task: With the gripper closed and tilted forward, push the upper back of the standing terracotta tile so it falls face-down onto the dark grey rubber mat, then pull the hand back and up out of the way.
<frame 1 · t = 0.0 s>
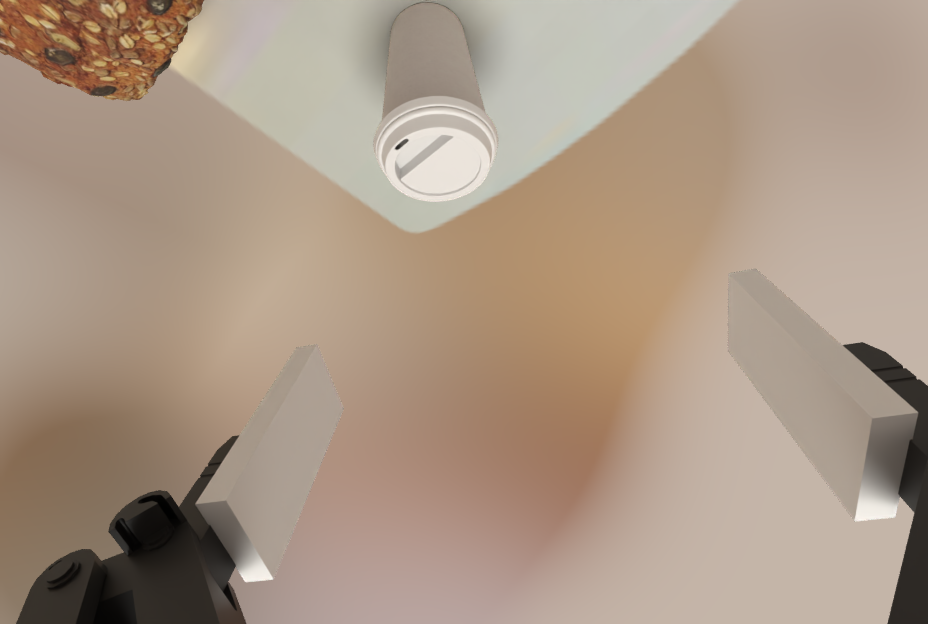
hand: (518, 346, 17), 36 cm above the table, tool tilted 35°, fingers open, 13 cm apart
coffee cup: (427, 37, 46), on the table
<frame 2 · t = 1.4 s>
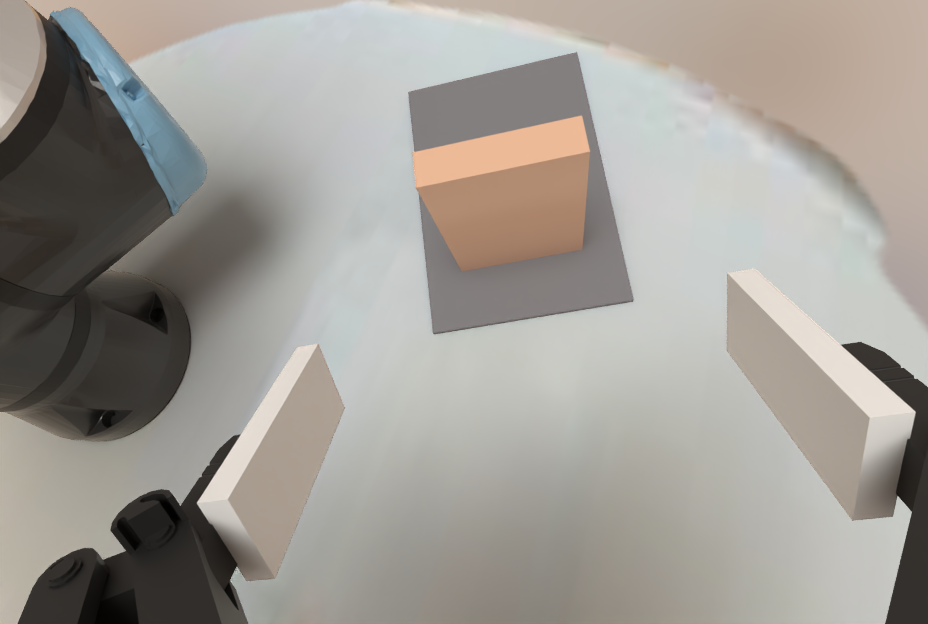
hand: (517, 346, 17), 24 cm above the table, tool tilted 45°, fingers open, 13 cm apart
tile: (518, 247, 43), resting on mat
mat: (509, 187, 45), on the table
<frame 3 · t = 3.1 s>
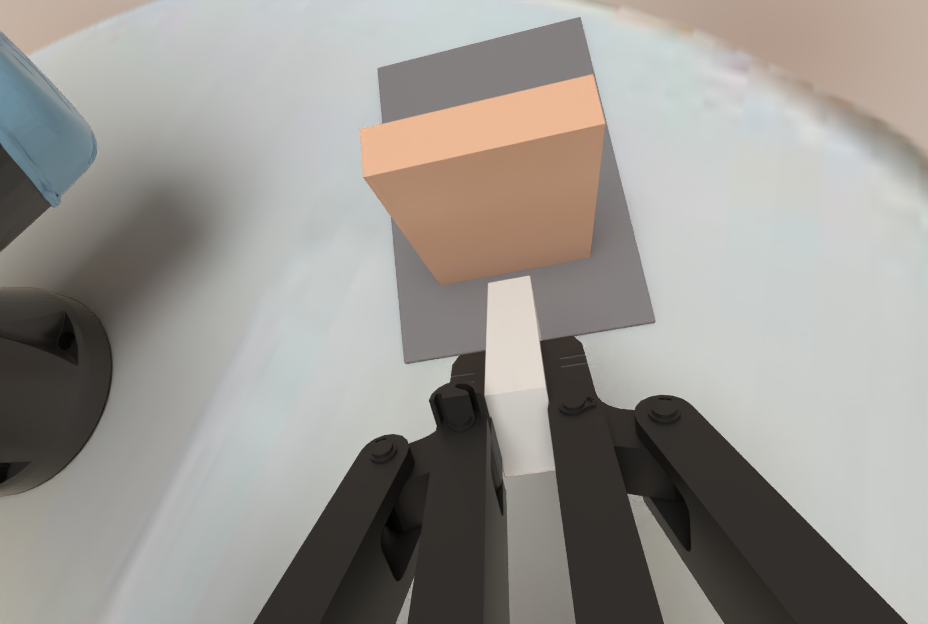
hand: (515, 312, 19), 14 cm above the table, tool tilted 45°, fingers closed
tile: (510, 255, 34), resting on mat
mat: (498, 180, 37), on the table
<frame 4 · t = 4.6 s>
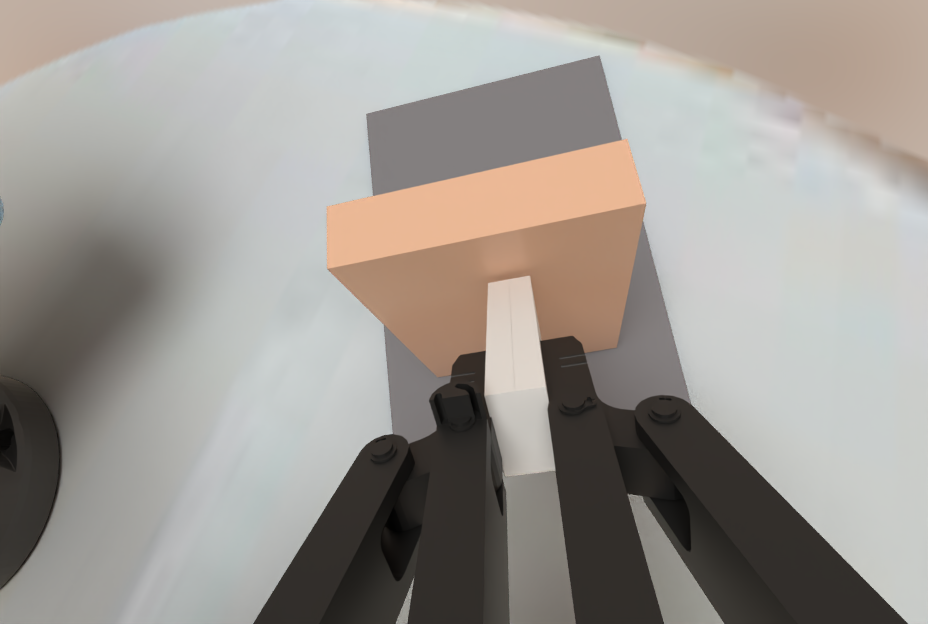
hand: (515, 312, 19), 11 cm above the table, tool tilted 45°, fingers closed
tile: (521, 342, 29), point 1 cm above the table, tilted 5°, touching gripper, mat
mat: (506, 250, 31), on the table
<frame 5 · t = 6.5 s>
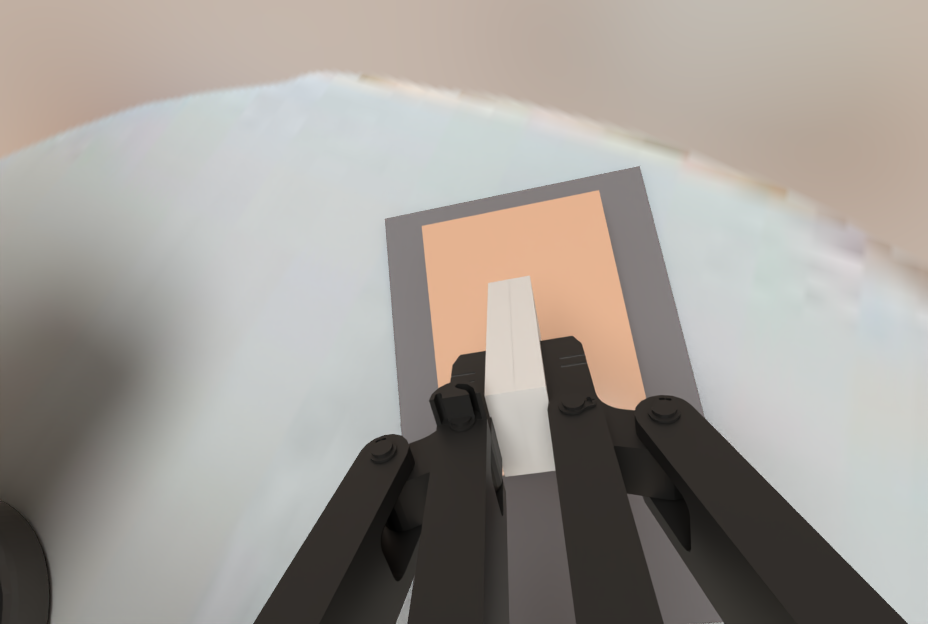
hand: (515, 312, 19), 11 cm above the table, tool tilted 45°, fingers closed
tile: (551, 469, 26), point 2 cm above the table, tilted 90°, touching mat
mat: (539, 385, 29), on the table
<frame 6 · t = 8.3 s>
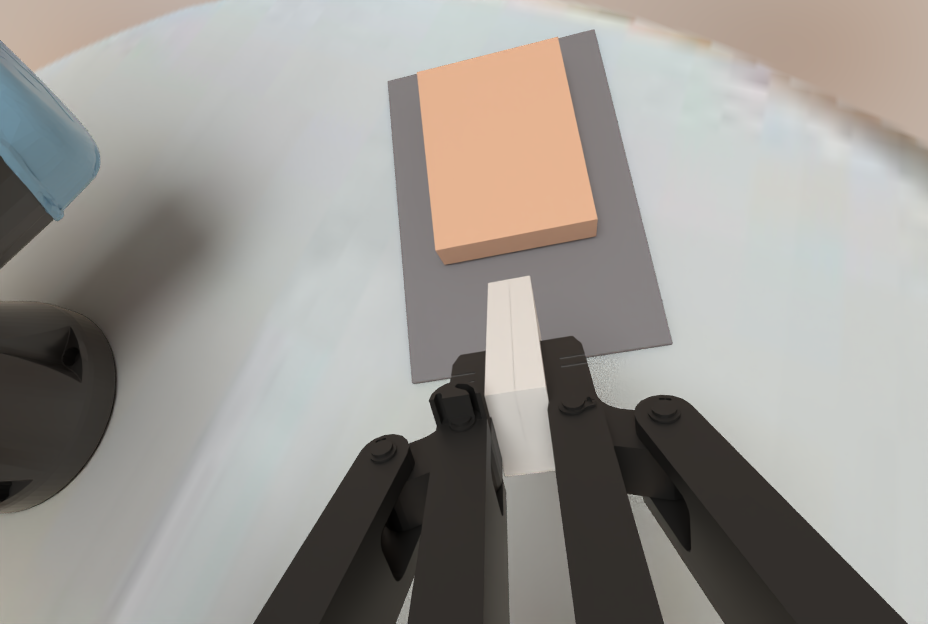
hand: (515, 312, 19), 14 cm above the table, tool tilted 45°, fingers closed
tile: (516, 243, 33), point 2 cm above the table, tilted 90°, touching mat
mat: (510, 196, 36), on the table
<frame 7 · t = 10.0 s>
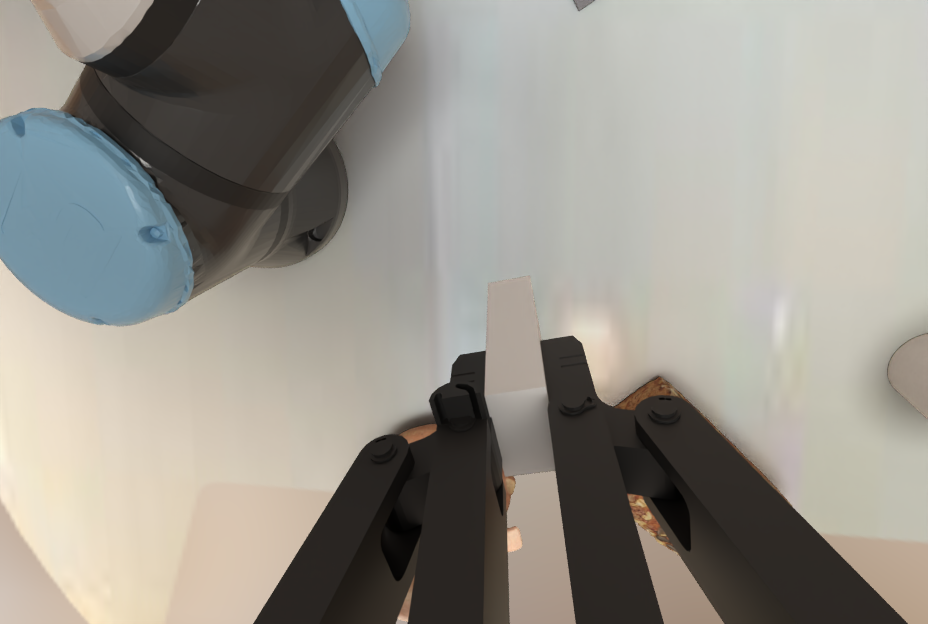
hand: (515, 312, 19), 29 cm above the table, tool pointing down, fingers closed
bread: (680, 454, 53), on the table
coffee cup: (925, 364, 47), on the table
ceramic jug: (441, 467, 57), on the table
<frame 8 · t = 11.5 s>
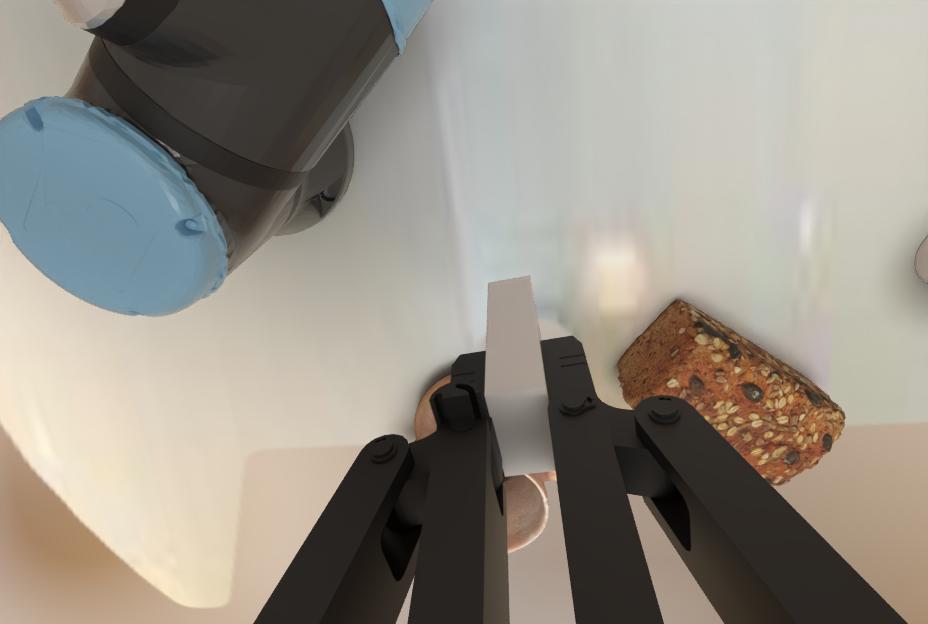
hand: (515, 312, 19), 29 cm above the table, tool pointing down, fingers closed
bread: (711, 368, 54), on the table
ceramic jug: (478, 409, 58), on the table
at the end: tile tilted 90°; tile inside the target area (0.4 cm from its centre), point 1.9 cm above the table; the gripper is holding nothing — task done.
